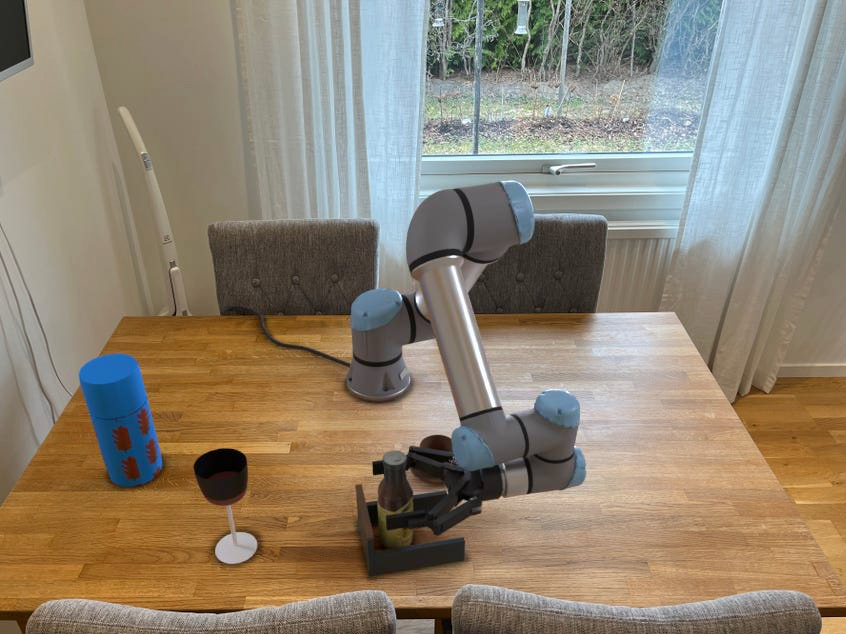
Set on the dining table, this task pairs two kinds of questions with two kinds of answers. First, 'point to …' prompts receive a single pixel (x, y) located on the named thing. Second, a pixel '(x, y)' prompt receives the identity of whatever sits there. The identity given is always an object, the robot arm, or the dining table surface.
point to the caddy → (405, 555)
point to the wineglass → (226, 497)
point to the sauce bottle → (394, 500)
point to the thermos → (121, 418)
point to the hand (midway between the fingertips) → (379, 494)
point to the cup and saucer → (438, 444)
